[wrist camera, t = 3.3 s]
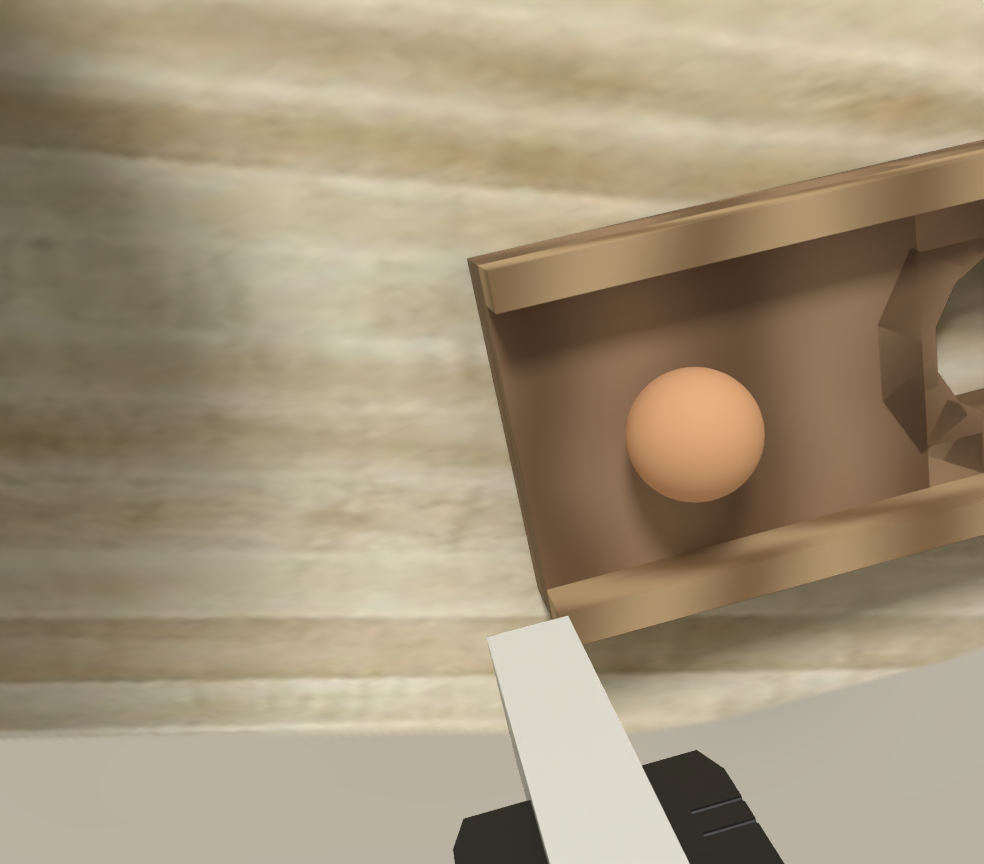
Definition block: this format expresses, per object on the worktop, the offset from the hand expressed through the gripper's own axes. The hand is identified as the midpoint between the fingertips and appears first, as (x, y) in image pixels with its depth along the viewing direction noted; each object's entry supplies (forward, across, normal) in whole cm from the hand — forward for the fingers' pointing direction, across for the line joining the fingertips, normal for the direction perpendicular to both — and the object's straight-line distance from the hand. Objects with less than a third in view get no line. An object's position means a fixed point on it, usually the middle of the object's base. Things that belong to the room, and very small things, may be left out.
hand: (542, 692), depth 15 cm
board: (+14, +14, 0) cm, 20 cm away
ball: (+10, +7, 0) cm, 12 cm away
